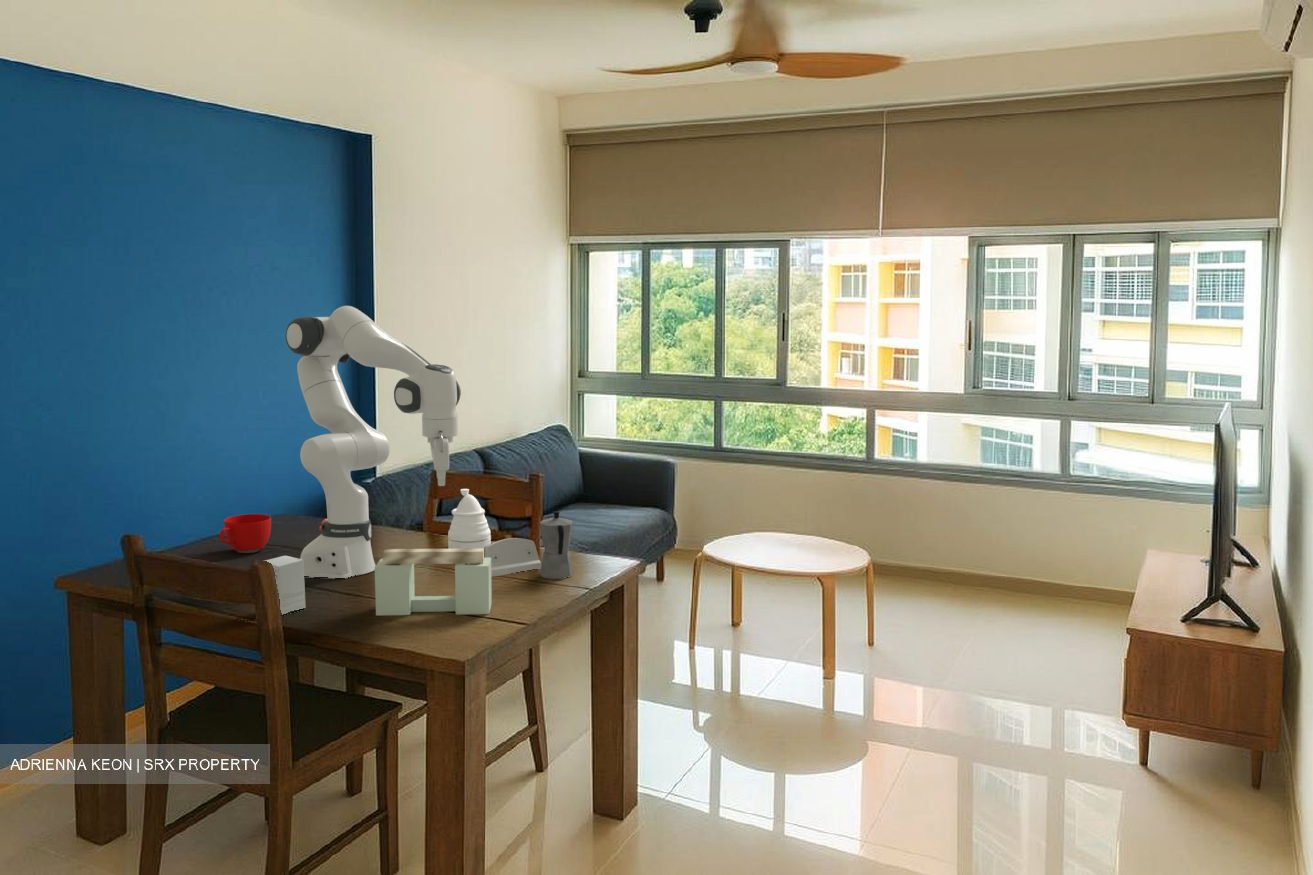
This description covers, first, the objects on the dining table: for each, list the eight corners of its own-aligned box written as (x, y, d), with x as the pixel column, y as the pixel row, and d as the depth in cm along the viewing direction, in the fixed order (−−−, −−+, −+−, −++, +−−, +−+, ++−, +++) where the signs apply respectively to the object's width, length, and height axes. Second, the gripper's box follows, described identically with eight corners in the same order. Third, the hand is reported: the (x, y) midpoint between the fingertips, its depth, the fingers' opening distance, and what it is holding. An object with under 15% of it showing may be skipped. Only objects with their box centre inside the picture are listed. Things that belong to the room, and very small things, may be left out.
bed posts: (376, 615, 244) (374, 567, 242) (382, 605, 252) (381, 558, 250) (488, 613, 246) (488, 566, 244) (491, 603, 254) (491, 557, 252)
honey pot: (439, 548, 308) (438, 490, 306) (472, 541, 318) (472, 484, 315) (466, 555, 300) (465, 496, 297) (499, 548, 310) (499, 490, 307)
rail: (383, 578, 245) (382, 552, 244) (385, 574, 248) (385, 549, 247) (483, 577, 247) (482, 551, 246) (484, 573, 250) (484, 548, 249)
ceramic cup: (205, 557, 295) (203, 523, 293) (248, 544, 310) (247, 512, 309) (239, 562, 290) (237, 528, 288) (281, 548, 305) (280, 516, 304)
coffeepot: (536, 569, 286) (536, 507, 284) (569, 567, 288) (569, 505, 286) (544, 584, 271) (544, 519, 269) (578, 582, 274) (579, 517, 271)
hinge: (489, 577, 278) (484, 541, 279) (482, 578, 282) (477, 543, 283) (543, 568, 287) (538, 533, 289) (536, 570, 291) (530, 536, 293)
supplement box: (287, 603, 252) (285, 554, 250) (306, 609, 248) (304, 559, 246) (261, 611, 246) (259, 560, 244) (280, 617, 242) (278, 565, 240)
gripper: (454, 434, 248) (455, 489, 250) (450, 423, 268) (451, 474, 270) (428, 434, 247) (429, 490, 249) (426, 424, 267) (427, 475, 268)
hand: (440, 482), depth 260 cm, fingers open, 8 cm apart
